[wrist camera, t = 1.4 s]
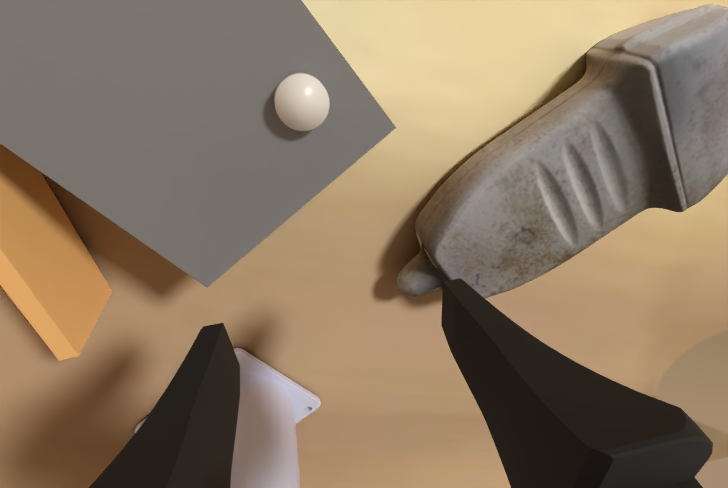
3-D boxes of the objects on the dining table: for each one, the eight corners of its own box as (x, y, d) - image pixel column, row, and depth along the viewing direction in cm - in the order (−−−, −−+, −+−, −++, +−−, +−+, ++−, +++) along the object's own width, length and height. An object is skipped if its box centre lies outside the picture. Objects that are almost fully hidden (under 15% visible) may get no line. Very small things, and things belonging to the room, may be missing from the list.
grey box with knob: (218, 230, 21) (205, 296, 16) (-83, -10, 14) (-252, -16, 10) (367, 100, 19) (400, 132, 15) (106, -245, 13) (12, -392, 8)
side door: (82, 298, 21) (41, 364, 17) (-86, 42, 15) (-210, 57, 11) (113, 291, 21) (79, 355, 17) (-40, 35, 15) (-145, 47, 11)
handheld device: (345, 223, 23) (363, 269, 19) (668, -23, 20) (767, -29, 16) (429, 317, 28) (457, 368, 24) (698, 131, 25) (780, 154, 21)
